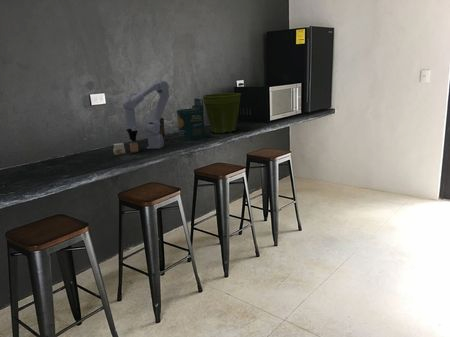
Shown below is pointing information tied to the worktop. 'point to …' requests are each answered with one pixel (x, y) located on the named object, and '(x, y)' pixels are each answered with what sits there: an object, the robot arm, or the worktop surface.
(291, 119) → the worktop surface
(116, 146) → the tower top
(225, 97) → the plant pot
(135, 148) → the terracotta cube
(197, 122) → the donation box
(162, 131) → the coffee box
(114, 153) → the tower base
